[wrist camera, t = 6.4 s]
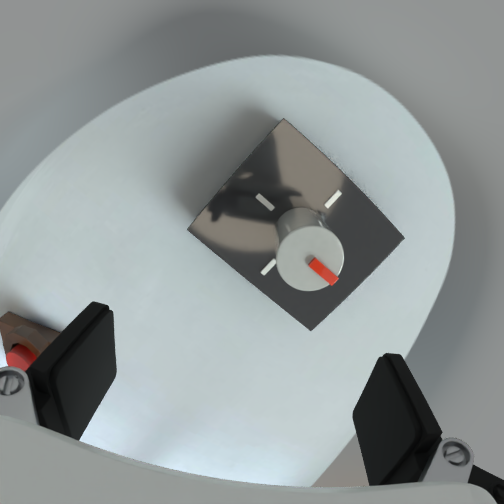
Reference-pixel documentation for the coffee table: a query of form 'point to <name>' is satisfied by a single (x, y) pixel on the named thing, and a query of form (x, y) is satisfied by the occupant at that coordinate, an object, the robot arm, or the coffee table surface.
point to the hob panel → (286, 198)
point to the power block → (25, 334)
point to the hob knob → (307, 250)
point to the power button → (20, 357)
